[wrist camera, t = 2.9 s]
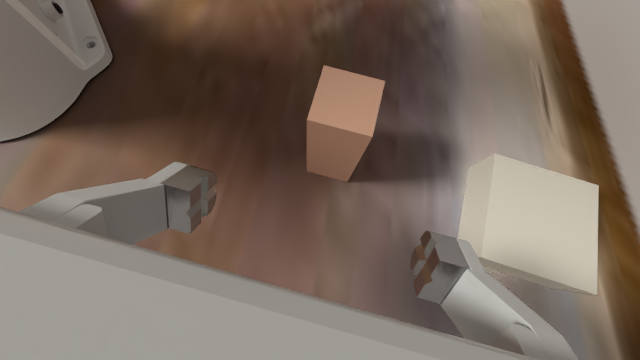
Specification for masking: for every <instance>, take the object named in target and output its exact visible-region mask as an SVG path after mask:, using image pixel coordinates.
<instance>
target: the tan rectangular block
mask: <svg viewBox="0 0 640 360" xmlns="http://www.w3.org/2000/svg"><path fill="white" fill-rule="evenodd" d="M384 84H385V81H383V80H379V79H376V78H372V77H368V76H364V75H360V74H356V73H352V72H348V71H344V70H340V69H337V68H333V67H329V66H325V65H324V66H323V70H322V73H321V76H320V79H319V83H318V86H317V89H316V92H315V95H314V99H313V102H312V105H311V108H310V111H309V115H308V118H307V172H311V173H315V174H319V175H322V176H326V177H330V178H334V179H337V180H341V181H345V182H348V180H349V178H350V176H351V175H352V173H353V171H354V169H355V167H356V166H357V164H358V162H359V160H360V158H361V157H362V155H363V153H364V151H365V150H366V148H367V146H368V144H369V142H370V141H371V139H372V137H373V133H374V129H375V124H376V120H377V115H378V111H379V106H380V102H381V98H382V93H383V89H384Z"/></svg>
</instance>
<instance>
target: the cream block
mask: <svg viewBox="0 0 640 360" xmlns="http://www.w3.org/2000/svg"><path fill="white" fill-rule="evenodd" d="M598 188H599V185H595V184H592V183H589V182H586V181H582V180H579V179H576V178H573V177H570V176H566V175H563V174H560V173H557V172H554V171H550V170H547V169H544V168H541V167H537V166H534V165H531V164H528V163H525V162H521V161H518V160H515V159H512V158H509V157H505V156H502V155H499V154H496V153H495V154H493V155H491V156H489V157H487V158H485V159H484V160H482V161H480V162H478V163H476V164H474V165H472V166H470V167H469V173H468V179H467V185H466V191H465V197H464V203H463V209H462V215H461V222H460V228H459V234H458V239H462V240H467V241H468V242H469V243H470V244H471V246H472V248H473V249H474V251H475V253H476V255H477V257H478V259H479V261H480V263H481V264H482V266H484V267H487V268H490V269H494V270H497V271H500V272H503V273H506V274H509V275H512V276H515V277H518V278H521V279H524V280H527V281H530V282H533V283H536V284H540V285H543V286H546V287H549V288H552V289H557V290H564V291H572V292H579V293H586V294H593V295H597V261H598Z"/></svg>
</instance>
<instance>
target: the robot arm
mask: <svg viewBox="0 0 640 360" xmlns="http://www.w3.org/2000/svg"><path fill="white" fill-rule="evenodd" d="M111 61H112V53H111V50H110V48H109V45H108V43H107V40H106V38H105V35H104V33H103V30H102V28H101V25H100V23H99V20H98V18H97V15H96V13H95V10H94V8H93V5H92V3H91V0H0V141H5V140H10V139H14V138H18V137H21V136H24V135H26V134H29V133H31V132H34V131H36V130H38V129H40V128H42V127H44V126H45V125H47V124H49V123H50V122H52V121H53V120H55V119H56V118H57V117H59V116H60V115H61V114H62V113H63V112H64V111H66V110H67V109H68V108H69V107H70V106H71V104H72V103H73V102H74V101H75V100H76V98H77V97H78V96H79V94H80V92H81V91H82V89H83V88H84V86H85V85H86V84H87V82H88V81H89V80H90V79H91V78H93V77H94V76H95V75H97V74H98V73H99V72H101V71H102V70H103V69H104V68H106V67H107V66H108V65H109V64H110V62H111ZM216 183H217V175H216V173H215V172H212V171H208V170H205V169H202V168H198V167H195V166H191V165H188V164H184V163H181V162H173V163H172V164H170V165H169V166H167V167H165V168H164V169H162V170H160V171H159V172H157V173H156V174H154V175H152V176H151V177H149V178H148V179H146V180H145V179H136V180H130V181H125V182H119V183H113V184H108V185H102V186H96V187H91V188H85V189H79V190H74V191H68V192H62V193H57V194H54V195H52V196H50V197H48V198H46V199H44V200H42V201H40V202H38V203H36V204H34V205H32V206H30V207H28V208H26V209H24V210H22V211H20V212H16V211H13V210H9V209H6V208H2V207H0V360H579V359H578V358H577V356H576V355H575V353H574V352H573V350H572V349H571V347H570V346H569V344H568V343H567V341H566V340H565V338H564V337H563V336H562V335H561V334H560V333H559V332H558V331H556V330H555V329H554V328H553V327H552V326H550V325H549V324H548V323H547V322H546V321H545V320H543V319H542V318H541V317H540V316H539V315H537V314H536V313H535V312H534V311H533V310H532V309H530V308H529V307H528V306H527V305H526V304H524V303H523V302H522V301H521V300H520V299H519V298H517V297H516V296H515V295H514V294H513V293H511V292H510V291H509V290H508V289H507V288H506V287H504V286H503V285H502V284H501V283H500V282H498V281H497V280H496V279H495V278H494V277H493V276H491V275H489V274H486V272H485V270H484V268H483V266H482V264H481V263H480V261H479V259H478V257H477V255H476V253H475V251H474V249H473V248H472V246H471V244H470V243H469V242H468V241H467V240H462V239H458V238H454V237H449V236H445V235H441V234H437V233H433V232H429V231H426V232H425V233H424V234H423V235H422V237H421V243H422V245H420V246H418V247H416V248H415V250H414V252H413V254H412V258H411V270H412V273H413V274H414V275H415V276H416V279H415V281H414V285H415V289H416V294H417V297H418V298H422V299H425V300H428V301H431V302H434V303H438V304H441V307H442V308H443V310H444V311H445V312H446V314H447V315H448V317H449V318H450V319H451V321H452V322H453V324H454V325H455V326H456V328H457V329H458V330H459V332H460V333H461V335H462V336H463V337H464V338H461V337H457V336H454V335H450V334H446V333H443V332H439V331H436V330H432V329H429V328H425V327H422V326H418V325H415V324H411V323H408V322H404V321H401V320H397V319H394V318H390V317H387V316H383V315H380V314H376V313H373V312H369V311H366V310H362V309H359V308H355V307H352V306H348V305H344V304H341V303H337V302H334V301H330V300H327V299H323V298H320V297H316V296H313V295H309V294H306V293H302V292H298V291H295V290H291V289H288V288H284V287H281V286H277V285H274V284H270V283H267V282H263V281H259V280H256V279H252V278H249V277H245V276H242V275H238V274H235V273H231V272H228V271H224V270H221V269H217V268H213V267H210V266H206V265H203V264H199V263H196V262H192V261H189V260H185V259H182V258H178V257H175V256H171V255H168V254H164V253H161V252H157V251H154V250H150V249H147V248H143V247H139V246H136V245H133V244H135V243H137V242H139V241H142V240H144V239H146V238H148V237H151V236H153V235H155V234H157V233H160V232H162V231H164V230H167V229H168V228H170V229H174V230H178V231H182V232H186V233H190V234H191V233H192V232H193V231H194V230H195V229H196V227H197V226H198V225H199V224H200V223H201V217H204V216H207V215H208V214H209V213H210V212H211V211H212V209H213V207H214V205H215V201H216V191H215V189H214V188H213V186H214V185H215V184H216Z"/></svg>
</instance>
